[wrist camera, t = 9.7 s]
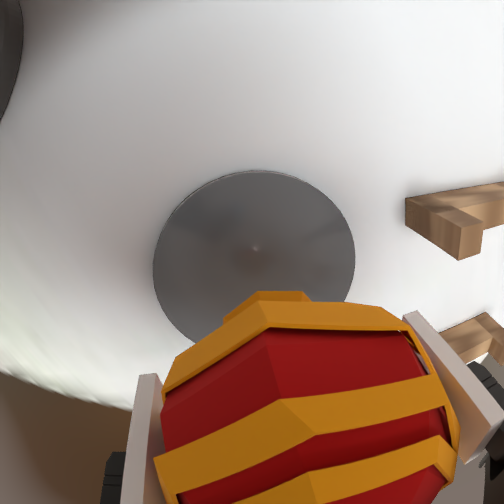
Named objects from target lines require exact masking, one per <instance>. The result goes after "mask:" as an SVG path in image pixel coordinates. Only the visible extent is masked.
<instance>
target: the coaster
mask: <svg viewBox="0 0 504 504" xmlns="http://www.w3.org/2000/svg"><path fill="white" fill-rule="evenodd" d="M354 269H355V249H354V242H353V238H352V234H351V231H350V229H349V226H348V224H347V222H346V220H345V218H344V217H343V215H342V213H341V212H340V210H339V209H338V208H337V207H336V206H335V204H334V203H333V202H332V201H331V200H330V199H329V198H328V197H326V196H325V195H324V194H323V193H322V192H320V191H319V190H317V189H316V188H314V187H313V186H311V185H310V184H308V183H307V182H304V181H302V180H300V179H298V178H296V177H293V176H290V175H286V174H283V173H278V172H271V171H247V172H239V173H234V174H231V175H227V176H223V177H221V178H219V179H216V180H214V181H211V182H209V183H207V184H206V185H204V186H202V187H201V188H199V189H197V190H196V191H195V192H193V193H192V194H191V195H190V196H188V197H187V198H186V199H185V200H184V201H183V202H182V203H181V204H180V205H179V206H178V207H177V208H176V209H175V211H174V212H173V214H172V215H171V216H170V218H169V219H168V221H167V223H166V225H165V226H164V228H163V230H162V232H161V235H160V237H159V240H158V243H157V246H156V250H155V255H154V261H153V280H154V288H155V291H156V295H157V298H158V301H159V303H160V305H161V307H162V309H163V311H164V313H165V314H166V316H167V317H168V319H169V320H170V321H171V323H172V324H173V325H174V326H175V327H176V328H177V329H178V330H179V331H180V332H181V333H182V334H183V335H184V336H186V337H187V338H189V339H190V340H192V341H193V342H195V343H197V342H199V341H200V340H202V339H203V338H205V337H206V336H208V335H209V334H211V333H212V332H214V331H215V330H216V329H218V328H219V327H221V326H222V325H223V318H224V317H225V316H226V315H227V314H229V313H230V312H231V311H233V310H234V309H235V308H236V307H238V306H239V305H240V304H242V303H243V302H244V301H245V300H247V299H248V298H249V297H250V296H252V295H253V294H254V293H255V292H257V291H303V292H304V293H305V295H306V296H307V297H308V298H309V299H310V300H311V301H312V302H344V300H345V298H346V296H347V294H348V292H349V289H350V286H351V283H352V280H353V275H354Z"/></svg>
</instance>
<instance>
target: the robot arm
mask: <svg viewBox="0 0 504 504" xmlns="http://www.w3.org/2000/svg"><path fill="white" fill-rule="evenodd" d="M22 42H23V19H22V12H21V8H20V5H19V2H18V0H0V119H1V117H2V115H3V113H4V110H5V108H6V106H7V103H8V100H9V98H10V95H11V92H12V89H13V86H14V82H15V79H16V75H17V71H18V67H19V62H20V57H21V51H22ZM402 321H403V322H405V323H406V324H408V325H409V326H411V328H412V330H413V331H414V333H415V335H416V336H417V338H418V339H419V341H420V343H421V344H422V346H423V348H424V349H425V351H426V353H427V354H428V356H429V358H430V360H431V362H432V364H433V366H434V368H435V370H436V372H437V374H438V376H439V379H440V381H441V383H442V385H443V387H444V389H445V392H446V394H447V396H448V398H449V401H450V403H451V405H452V408H453V410H454V412H455V415H456V417H457V419H458V422H459V424H460V427H461V430H460V440H459V448H458V455H459V456H460V458H461V460H462V461H463V463H464V464H466V463H467V462H469V461H471V460H472V459H474V458H476V457H477V456H479V455H480V454H481V452H482V451H483V450H484V448H486V450H487V451H488V453H487V454H486V455H485V456H484V458H483V459H482V460H481V462H480V464H479V468H481V467H482V466H483V464H484V463H485V462H486V464H485V487H484V501H483V504H504V389H503V388H502V387H501V385H500V384H498V383H497V381H496V379H495V378H494V377H492V375H491V374H490V373H489V371H488V370H487V369H486V368H485V367H484V366H482V365H480V364H479V363H477V362H475V361H473V362H471V363H469V364H467V365H466V364H465V363H464V362H463V361H462V360H461V358H460V357H459V356H458V355H457V354H456V353H455V351H454V350H453V349H452V348H451V347H450V346H449V345H448V344H447V342H446V341H445V340H444V339H443V338H442V337H441V336H440V335H439V334H438V332H437V331H436V330H435V329H434V328H433V327H432V326H431V325H430V324H429V323H428V322H427V321H426V319H425V318H424V317H423V316H422V315H421V314H420V313H419V312H418V311H417V310H416V311H414V312H411V313H408V314H405V315H403V318H402ZM414 352H415V351H414ZM415 353H416V355H417V356H418V358H419V360H420V361H421V363H422V364H423V366H424V368H425V369H426V371H427V373H428V374H429V375H430V374H431V373H430V371H429V369H428V367H427V365H426V363H425V361H424V360H423V358H422V356H421V355H420V354H418V353H417V352H415ZM162 387H163V385H162V383H161V381H160V379H159V377H158V375H157V373H152V374H144V375H139V380H138V385H137V390H136V396H135V401H134V407H133V413H132V418H131V425H130V431H129V438H128V444H127V451H126V452H112V454H111V456H110V457H109V459H108V461H107V462H106V468H105V477H104V480H103V487H102V494H101V501H100V504H166V501H165V498H164V495H163V492H162V488H161V485H160V482H159V478H158V475H157V471H156V468H155V464H154V460H153V458H154V457H156V456H159V455H162V454H164V453H166V451H165V445H164V439H163V433H162V427H161V420H160V413H161V410H162V408H163V401H162V395H161V390H162ZM175 495H176V494H175Z"/></svg>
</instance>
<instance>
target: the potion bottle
mask: <svg viewBox="0 0 504 504" xmlns="http://www.w3.org/2000/svg"><path fill="white" fill-rule="evenodd" d="M398 330H399V331H400V332H399V331H398ZM414 351H415V352H417V353H418V354H420V355H421V356H422V358H423V360H424V361H425V363H426V365H427V367H428V369H429V371H430V373H431V374H430V375H429V374H428V373H427V371H426V369H425V368H424V366H423V364H422V363H421V361H420V360H419V358H418V356H417V355H416V353H415V352H414ZM161 395H162V401H163V408H162V410H161V413H160V420H161V427H162V433H163V439H164V445H165V451H166V453H164V454H162V455H159V456H156V457H154V458H153V460H154V464H155V468H156V471H157V475H158V478H159V482H160V485H161V488H162V492H163V495H164V498H165V501H166V504H178V503H179V504H431V503H432V501H433V500H434V498H435V497H436V495H437V494H438V492H439V491H440V490H442V489H443V488H445V487H446V486H448V485H449V484H451V483H452V482H453V480H454V474H455V468H456V462H457V455H458V448H459V440H460V430H461V427H460V424H459V422H458V419H457V417H456V415H455V412H454V410H453V408H452V405H451V403H450V401H449V398H448V396H447V394H446V392H445V389H444V387H443V385H442V383H441V381H440V379H439V376H438V374H437V372H436V370H435V368H434V366H433V364H432V362H431V360H430V358H429V356H428V354H427V353H426V351H425V349H424V348H423V346H422V344H421V343H420V341H419V339H418V338H417V336H416V335H415V333H414V331H413V330H412V328H411V326H409V325H408V324H406V323H405V322H403V321H402V320H400V319H399V318H397V317H396V316H394V315H392V314H391V313H389V312H388V311H386V310H385V309H383V308H382V307H378V306H370V305H363V304H355V303H348V302H312V301H311V300H310V299H309V298H308V297H307V296H306V295H305V293H304V292H303V291H257V292H255V293H254V294H253V295H252V296H250V297H249V298H248V299H247V300H245V301H244V302H243V303H242V304H240V305H239V306H238V307H236V308H235V309H234V310H233V311H231V312H230V313H229V314H227V315H226V316H225V317H224V318H223V325H222V326H221V327H219V328H218V329H216V330H215V331H214V332H212V333H211V334H209V335H208V336H206V337H205V338H203V339H202V340H200V341H199V342H197V343H196V344H195V345H193V346H192V347H190V348H189V349H187V350H186V351H184V352H183V353H181V354H180V355H178V356H177V357H176V358H175V360H174V362H173V364H172V367H171V369H170V371H169V373H168V376H167V378H166V380H165V383H164V385H163V387H162V390H161ZM175 494H176V495H175ZM176 496H177V498H176ZM177 500H178V501H177Z"/></svg>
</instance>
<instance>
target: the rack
mask: <svg viewBox="0 0 504 504" xmlns="http://www.w3.org/2000/svg"><path fill="white" fill-rule="evenodd" d="M405 200H406V226H407V227H409V228H411V229H412V230H414V231H415V232H417V233H418V234H420V235H421V236H423V237H424V238H426V239H427V240H429V241H430V242H432V243H433V244H435V245H436V246H438V247H439V248H441V249H442V250H444V251H445V252H446V253H448V254H449V255H451V256H452V257H454V258H455V259H456V260H458V261H459V260H462V259H465V258H468V257H471V256H473V255H476V254H479V253H480V251H481V243H482V235H483V230H485V229H489V228H492V227H495V226H499V225H502V224H504V182H499V183H492V184H486V185H480V186H474V187H468V188H462V189H456V190H450V191H444V192H438V193H433V194H427V195H421V196H416V197H410V198H405ZM438 334H439V335H440V336H441V337H442V338H443V339H444V340H445V341H446V342H447V344H448V345H449V346H450V347H451V348H452V349H453V350H454V351H455V353H456V354H457V355H458V356H459V357H460V358H461V360H462V361H463V362H464V363H465V364H466V363H468V362H470V361H472V360H474V359H476V358H477V357H479V356H481V355H483V354H485V353H486V352H488V353H489V354H490V355H491V356H492V357H493V358H494V359H495V360H496V361H497V362H498V363H499V364H500V365H501V366H503V365H504V328H502V327H501V326H500V325H499V324H498V323H497V322H496V321H495V320H494V319H493V318H492V317H490V316H489V315H488V314H487V313H486V312H485V313H483V314H481V315H478V316H476V317H474V318H472V319H470V320H468V321H466V322H463V323H461V324H459V325H457V326H454V327H452V328H450V329H448V330H445V331H443V332H441V333H438Z"/></svg>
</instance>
